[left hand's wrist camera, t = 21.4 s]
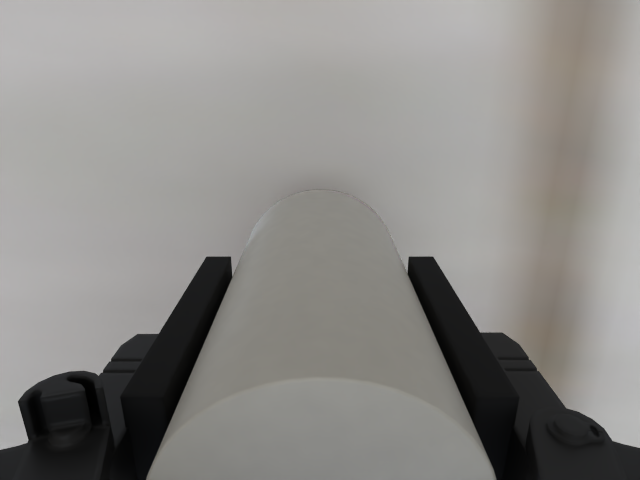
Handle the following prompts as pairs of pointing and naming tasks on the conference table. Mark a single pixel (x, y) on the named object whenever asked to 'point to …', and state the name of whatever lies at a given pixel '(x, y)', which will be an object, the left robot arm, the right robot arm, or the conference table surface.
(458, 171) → the conference table surface
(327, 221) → the cylinder
